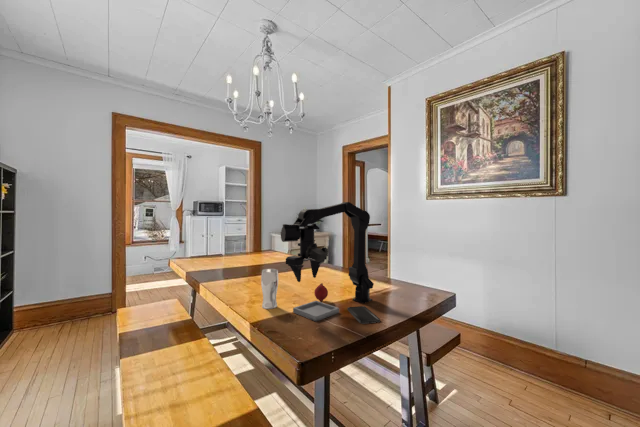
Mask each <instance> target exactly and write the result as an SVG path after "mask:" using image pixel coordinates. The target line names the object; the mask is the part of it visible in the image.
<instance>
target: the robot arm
mask: <svg viewBox="0 0 640 427" xmlns="http://www.w3.org/2000/svg"><path fill="white" fill-rule="evenodd" d="M341 213H344V214H345V215H346V216H347V217H348V218H349V219H350V222H351V226H352V228H353V231H354V234H353V263H352V266H349V267H348V277H349V280H350V281H351V282H352V285H353V286H355V290H354V291H355V292H354V293H355V295H354V298H352V301H355V302H357V303H361V304H366V303H368V302H372V301H373V298H370V293H371V292H370V289H371V290H372V289H373V288H374V284H375V283H374V282H373V281H372V280H371V279H370V278H369V271H368V268H367V266H366V233H367V229H368V227H369V225H370V220H371V215H370V213H369V212H368V211H367V210H363V209H362V208H360V207H358V206H356V205H354V204H353V203H351V202H350V201H343V202H341V203H338V204H337V203H336V204H332V205H330V206H329V205H328V206H325V207H320V208H310V209H309V208H308V209H301V210H300V211H299V213H298V215H297V216H298V217H297V218H296V220H294V222H293V224H289V223H288V224H287V223H283V224H282V228H281V231H280V240H281V242H283V243H286V242H297V247H299V253H297V255H289V256H287V257H286V258H285V265H287V266H288V267H290V269H291V271H292V272H293V275H294V277H295V279H296V281H297V282H298V283H301V281H302V280H301V279H302V269H303V267H304V266H305V265H303V264H304V262H307V261H308V262H310V263H309V264H310V268H311V274H312V278H314V279H316V277H317V274H318V272H319V269H320V267H321V265H322V264H323V263H324V262H325V261H326V260H327V257H328V256H329V250H328V249H329V248H327V247H322V248H319V247H318V245H317V242H316V243H315V230H320V227H319V226H318V225H317V222H319V221H320V220H322V219H324V218H327V217H331V216H334V215H338V214H341ZM298 241H299V242H298Z"/></svg>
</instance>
